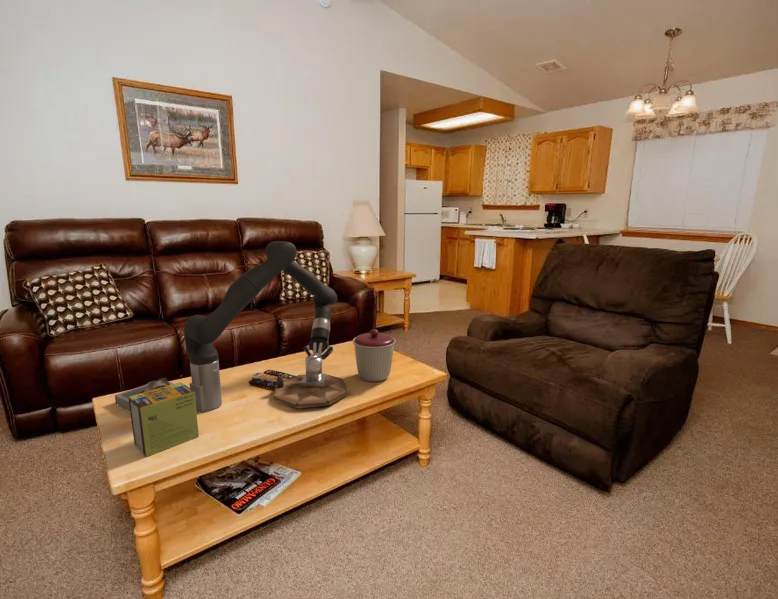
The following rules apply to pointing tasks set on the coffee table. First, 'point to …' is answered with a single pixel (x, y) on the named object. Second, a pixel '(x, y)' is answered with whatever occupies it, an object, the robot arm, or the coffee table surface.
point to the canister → (374, 355)
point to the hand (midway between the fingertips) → (315, 368)
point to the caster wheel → (156, 384)
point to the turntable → (309, 392)
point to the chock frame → (123, 397)
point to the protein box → (163, 418)
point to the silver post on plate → (314, 372)
